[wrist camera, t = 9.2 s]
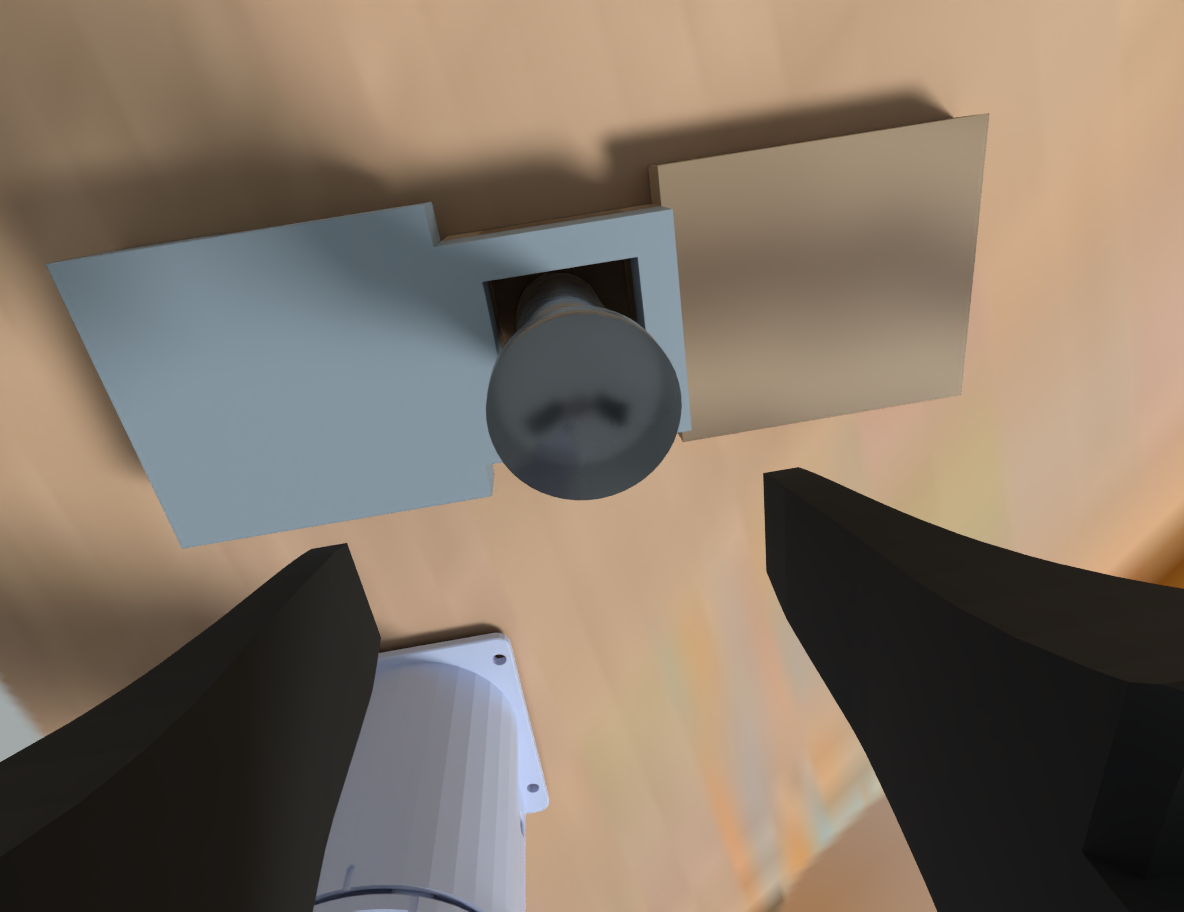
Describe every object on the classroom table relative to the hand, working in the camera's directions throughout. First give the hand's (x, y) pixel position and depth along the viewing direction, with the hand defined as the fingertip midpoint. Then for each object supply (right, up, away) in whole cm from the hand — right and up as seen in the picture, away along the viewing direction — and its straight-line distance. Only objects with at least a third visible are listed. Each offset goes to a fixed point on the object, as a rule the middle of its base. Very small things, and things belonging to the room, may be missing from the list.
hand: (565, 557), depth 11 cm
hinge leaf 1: (-5, +5, +9) cm, 11 cm away
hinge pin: (-1, +6, +9) cm, 11 cm away
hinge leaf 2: (+4, +7, +9) cm, 12 cm away
